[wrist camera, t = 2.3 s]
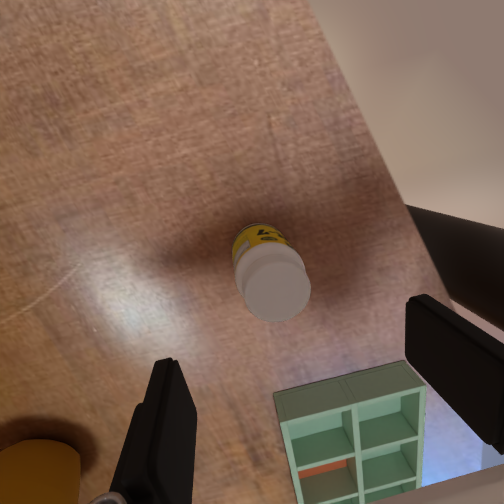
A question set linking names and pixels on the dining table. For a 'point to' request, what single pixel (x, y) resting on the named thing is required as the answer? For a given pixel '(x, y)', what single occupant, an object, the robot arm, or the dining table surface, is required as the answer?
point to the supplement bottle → (269, 273)
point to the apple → (39, 473)
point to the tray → (355, 435)
